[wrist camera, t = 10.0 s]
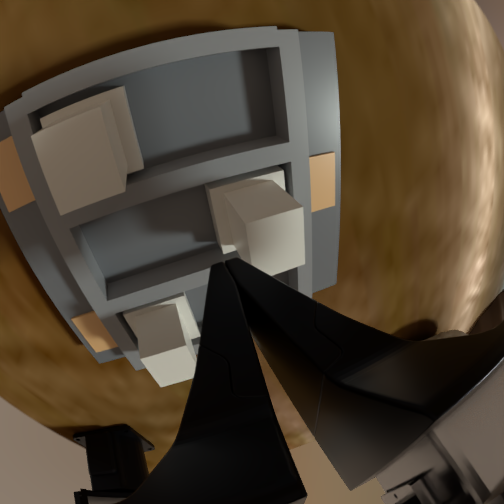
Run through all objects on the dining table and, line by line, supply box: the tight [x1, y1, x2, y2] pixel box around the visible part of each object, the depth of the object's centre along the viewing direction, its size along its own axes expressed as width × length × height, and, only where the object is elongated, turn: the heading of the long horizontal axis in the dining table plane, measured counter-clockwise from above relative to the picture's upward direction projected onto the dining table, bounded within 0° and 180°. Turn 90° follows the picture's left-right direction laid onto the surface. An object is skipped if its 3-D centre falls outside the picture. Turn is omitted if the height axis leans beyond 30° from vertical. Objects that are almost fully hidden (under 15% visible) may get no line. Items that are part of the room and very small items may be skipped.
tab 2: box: [123, 292, 200, 387], centre depth 13 cm, size 3×3×4 cm
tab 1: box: [31, 86, 144, 215], centre depth 8 cm, size 3×3×4 cm
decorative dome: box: [469, 292, 504, 335], centre depth 45 cm, size 19×20×10 cm
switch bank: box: [0, 26, 341, 371], centre depth 13 cm, size 14×15×3 cm
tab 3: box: [204, 165, 305, 276], centre depth 12 cm, size 3×3×4 cm
